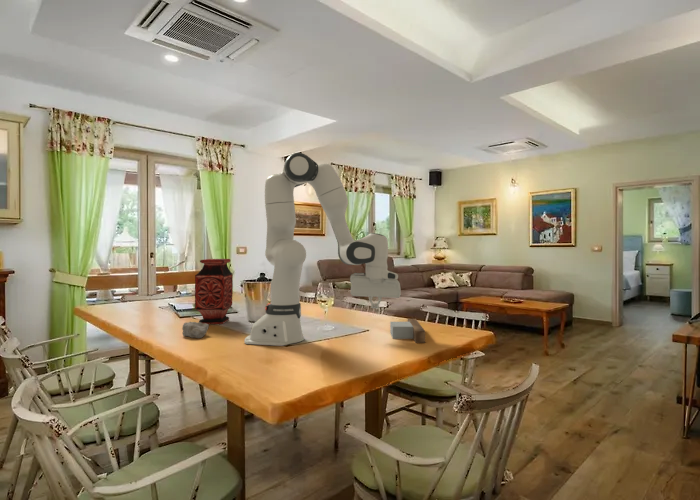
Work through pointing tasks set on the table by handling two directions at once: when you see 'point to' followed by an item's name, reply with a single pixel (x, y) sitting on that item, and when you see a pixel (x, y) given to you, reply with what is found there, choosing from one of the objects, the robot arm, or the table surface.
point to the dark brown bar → (417, 331)
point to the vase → (214, 291)
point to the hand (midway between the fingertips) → (374, 308)
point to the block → (401, 330)
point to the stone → (195, 329)
